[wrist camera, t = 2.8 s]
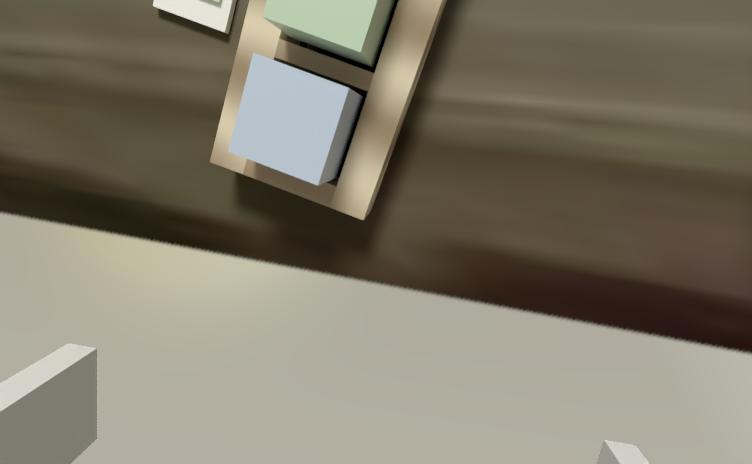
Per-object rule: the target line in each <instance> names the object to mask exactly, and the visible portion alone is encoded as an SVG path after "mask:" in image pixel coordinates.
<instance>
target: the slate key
mask: <svg viewBox="0 0 752 464" xmlns="http://www.w3.org/2000/svg"><path fill="white" fill-rule="evenodd" d="M362 99H363V96H361V95H360V94H358V93H356V92H355V91H353V90H352V89H350V88H348V87H345V86H343V85H340V84H337V83H334V82H332V81H329V80H326V79H324V78H321V77H318V76H315V75H313V74H310V73H307V72H305V71H302V70H299V69H296V68H294V67H291V66H288V65H286V64H283V63H280V62H277V61H275V60H272V59H269V58H267V57H264V56H261V55H258V54H256V53H253V55H252V59H251V63H250V67H249V71H248V75H247V79H246V83H245V87H244V91H243V94H242V98H241V102H240V106H239V110H238V114H237V118H236V122H235V126H234V130H233V134H232V138H231V141H230V145H229V149H228V152H231V153H233V154H236V155H239V156H241V157H244V158H247V159H249V160H252V161H254V162H257V163H260V164H262V165H265V166H268V167H270V168H273V169H275V170H278V171H281V172H283V173H286V174H289V175H291V176H294V177H296V178H299V179H302V180H304V181H307V182H310V183H312V184H315V185H317V186H318V185H321V184H323V183H326V182H328V181H330V180H333V179H335V178H336V177H337V174H338V171H339V168H340V165H341V162H342V159H343V156H344V153H345V150H346V147H347V144H348V141H349V138H350V135H351V132H352V129H353V126H354V123H355V120H356V117H357V114H358V111H359V108H360V105H361V102H362Z"/></svg>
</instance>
